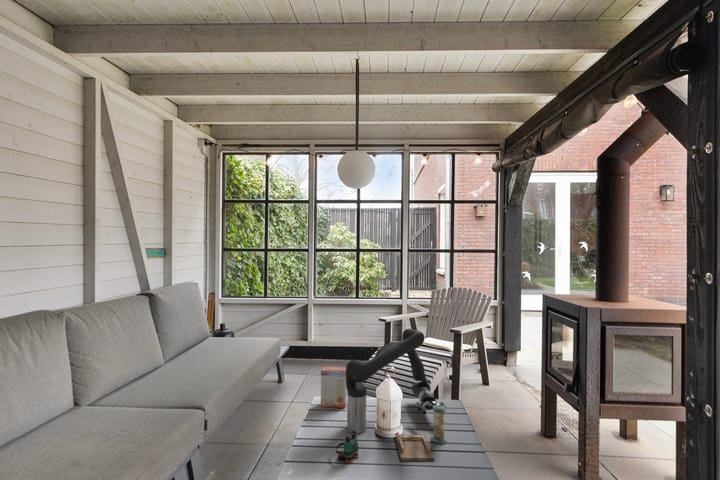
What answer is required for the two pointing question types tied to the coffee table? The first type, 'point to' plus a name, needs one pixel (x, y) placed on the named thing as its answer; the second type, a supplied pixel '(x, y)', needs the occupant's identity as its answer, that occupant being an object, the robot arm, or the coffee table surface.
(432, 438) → the bobbin
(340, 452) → the binoculars
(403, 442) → the brown wooden tray
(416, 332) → the robot arm
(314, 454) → the coffee table surface
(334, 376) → the cracker box
